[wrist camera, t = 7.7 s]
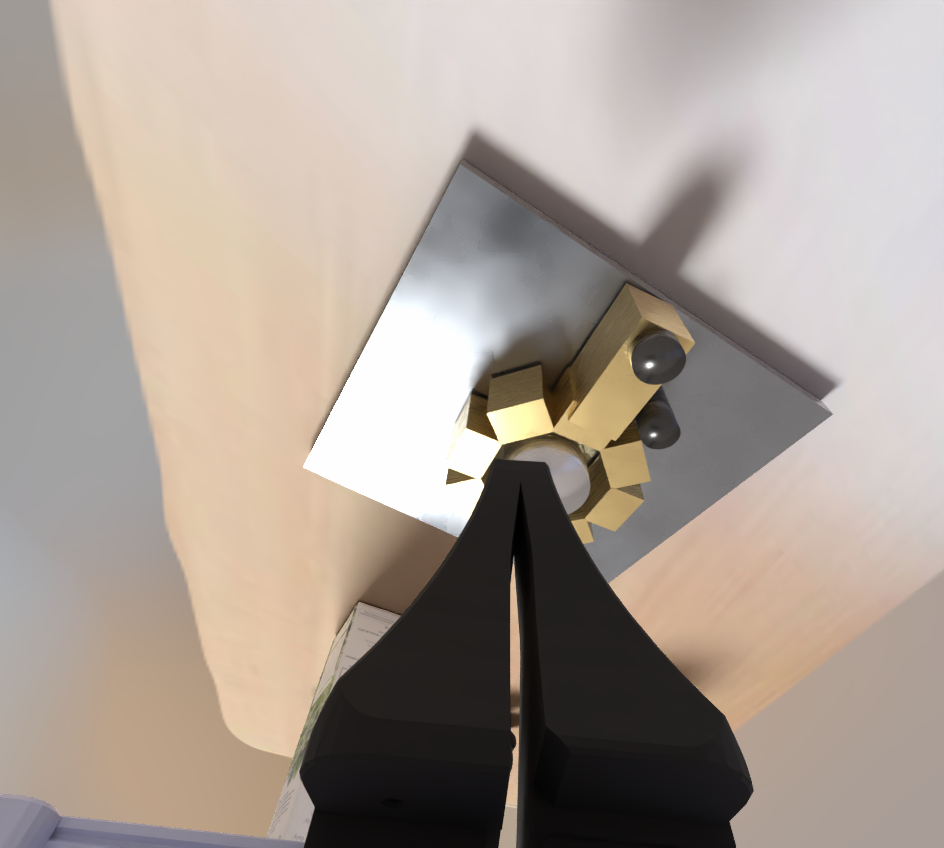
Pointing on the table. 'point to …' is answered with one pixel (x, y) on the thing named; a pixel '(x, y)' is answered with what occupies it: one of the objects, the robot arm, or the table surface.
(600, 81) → the table surface
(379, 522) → the table surface
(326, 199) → the table surface
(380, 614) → the syrup box
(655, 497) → the grey metal base plate
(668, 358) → the brass block wheel
